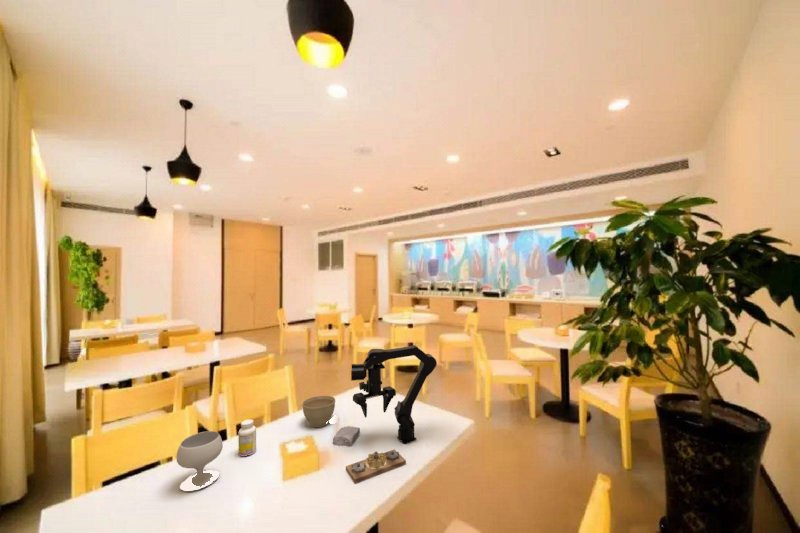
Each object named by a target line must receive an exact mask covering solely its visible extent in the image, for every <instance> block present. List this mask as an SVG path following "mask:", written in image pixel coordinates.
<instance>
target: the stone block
mask: <svg viewBox="0 0 800 533" xmlns="http://www.w3.org/2000/svg"><path fill="white" fill-rule="evenodd" d="M360 433H361V428H360V427H357V426H354V425H353V426H351V425H349V426H343V427H341V428H340V429H339V430H338V431H337V432H336V433H335V435H334V436H333V438H332V441H333V442H332V443H333V444H334V446H338V447H352V446H354V444H355V442H356V441H357V439H358V437H359V436H360Z"/></svg>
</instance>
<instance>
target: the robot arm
mask: <svg viewBox="0 0 800 533" xmlns="http://www.w3.org/2000/svg"><path fill="white" fill-rule="evenodd" d="M412 356H414V357H415V358H417V359H418V360H419V364H418V365H419V366H418V370H417V371H418V372H417V373H416V375H415V377H414V380H413V381H412V383H411V385H410V387H409V390H408V391H407V394H406V395H405V396H404V399H403V400H402V401H400V400H397V404H396V406H395V407H394V416H395V419H396V421H397V423H398V424H399V425H398V429H397V435H398V436H397V437H396V438H397V439H398V440H399V441H400V442H401V443H403V445H406V444H408V443H412V442H414V441H415V442H416V441H417V438H416V436H415V421H414V420H413V417H412V413H413V412H412V410H413V406H414V403H415V401H416V399H417V397H418V395H419V394H420V391H421V390H422V388H423V385H424V384H425V381H426V379H427V377H428V376H430V375H431V374H432V373H433V371H434V370H435V369H436V367H437V359H436V358H435V357H434V356H433V355H432V354H430V353H425V352H424V351H423V350H422V349H420V348H419V347H418V346H417V345H415V344H412V345H409V346H403V347H396V348H390V349H382V348H371V349H369V351H368V352H367V357H366V358H365V359H364V361H363V363H353V364H351V370H350V373H351V374H350V375H351V376H350V378H351V379H350V380H351V382H352V381H353V382H354V381H361V382H359V384H358V385H359V386H358V388H359V390H360V391H363V392H365V393H366V394H364V393H363V392H356V393H354V394H353V396H352V401H353V402H354V403H355V404H356V405H358V406H360V408H361V411H362V414H363V416H364V418H365V419H366V418H367V417H368V404H367V400H368V399H373V398H376V397H381V396H382V398H383V399H382V400H383V401H382V402H383V405H382V406H383V408H382V410H383V413H386V411H387V409H388V407H389V404H390V403H391V402H392V400H393V399H394V397H396V396H397V391H396V389H395V388H394V387H393V386H391V385H389V386H385V387H382V385H383V381H382V372H381V371H382V369H386V367H385V365H384V362H386V361H389V360H393V359H399V358H406V357H412ZM366 378H367V379H366ZM364 380H366V383H365V381H364Z"/></svg>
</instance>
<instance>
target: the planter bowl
mask: <svg viewBox="0 0 800 533" xmlns="http://www.w3.org/2000/svg"><path fill="white" fill-rule="evenodd" d="M335 403H336V398H335V397H333V396H330V395H317V396H312V397H309V398H306V399H305V400H303V401H302V405H301V406H302V411H303V416H304V418H305V419H306V421H307V422H308V425H309V426H310V427H312V428H321V427H325V426H327V425H326V422H327V421H328V420H329V421H330V419H331V418H332V416H333V414H334V412H335V407H336V404H335Z"/></svg>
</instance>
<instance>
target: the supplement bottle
mask: <svg viewBox="0 0 800 533" xmlns="http://www.w3.org/2000/svg"><path fill="white" fill-rule="evenodd" d="M240 426H241V428H240V429H239V431H238V435H237V436H238V437H237V438H238V456H239V455H241V456H247V455H250V456H252V455H253V454H255V453H256V451H257V427H256V426H255V425H254V419H245V420H243V421H242V422H241V423H240ZM254 452H255V453H254ZM251 454H252V455H251ZM241 456H240V457H241ZM247 457H248V456H247Z"/></svg>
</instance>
